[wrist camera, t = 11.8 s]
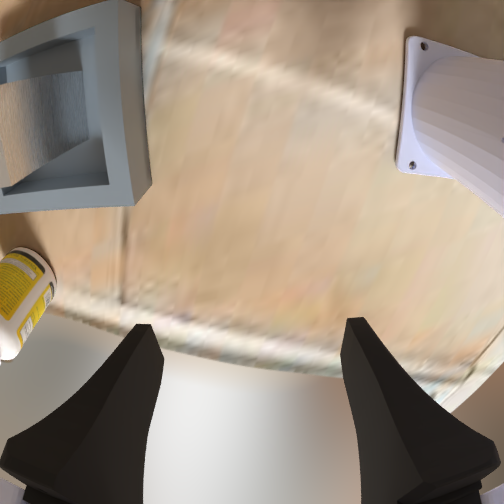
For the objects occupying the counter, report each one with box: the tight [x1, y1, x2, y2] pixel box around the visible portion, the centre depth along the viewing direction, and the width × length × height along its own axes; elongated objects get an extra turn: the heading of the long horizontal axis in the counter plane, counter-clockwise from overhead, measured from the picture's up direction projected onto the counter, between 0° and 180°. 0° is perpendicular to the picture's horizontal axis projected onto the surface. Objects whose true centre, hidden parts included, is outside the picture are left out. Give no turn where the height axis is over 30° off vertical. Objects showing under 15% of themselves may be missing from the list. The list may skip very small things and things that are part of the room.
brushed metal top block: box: [0, 71, 90, 188], centre depth 11 cm, size 4×4×7 cm
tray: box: [0, 0, 152, 214], centre depth 14 cm, size 10×10×3 cm
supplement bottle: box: [0, 247, 57, 365], centre depth 17 cm, size 5×5×10 cm
